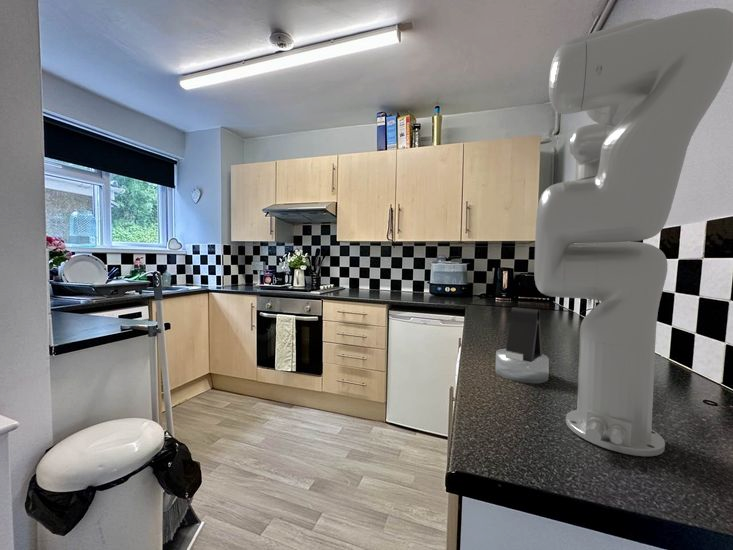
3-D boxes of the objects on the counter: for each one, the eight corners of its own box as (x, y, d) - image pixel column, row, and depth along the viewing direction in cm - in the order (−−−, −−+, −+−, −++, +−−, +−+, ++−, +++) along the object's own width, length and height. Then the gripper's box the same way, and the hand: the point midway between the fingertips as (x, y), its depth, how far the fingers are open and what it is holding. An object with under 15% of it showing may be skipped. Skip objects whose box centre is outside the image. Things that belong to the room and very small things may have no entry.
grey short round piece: (540, 387, 69) (541, 358, 69) (487, 373, 78) (488, 348, 78) (553, 374, 78) (554, 349, 78) (505, 363, 86) (506, 340, 86)
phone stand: (531, 362, 72) (532, 311, 72) (505, 356, 76) (506, 308, 76) (542, 354, 78) (544, 308, 78) (517, 349, 83) (519, 305, 82)
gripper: (607, 177, 67) (604, 255, 68) (616, 191, 79) (614, 257, 80) (567, 183, 72) (565, 255, 73) (581, 196, 85) (579, 257, 85)
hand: (590, 256), depth 76 cm, fingers open, 9 cm apart
